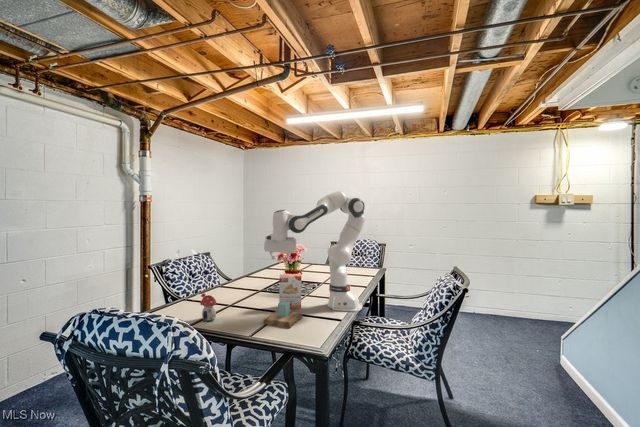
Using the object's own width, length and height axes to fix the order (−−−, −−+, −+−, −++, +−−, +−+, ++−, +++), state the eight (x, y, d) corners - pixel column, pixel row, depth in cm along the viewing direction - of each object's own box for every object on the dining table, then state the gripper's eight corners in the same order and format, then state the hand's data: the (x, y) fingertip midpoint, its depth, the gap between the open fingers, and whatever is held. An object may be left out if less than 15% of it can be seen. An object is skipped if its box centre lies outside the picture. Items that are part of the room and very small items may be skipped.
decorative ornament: (198, 320, 171) (198, 293, 170) (207, 316, 177) (207, 291, 176) (209, 323, 166) (209, 296, 166) (218, 319, 172) (218, 293, 172)
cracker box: (279, 309, 189) (279, 276, 188) (279, 305, 195) (279, 273, 194) (301, 308, 190) (301, 275, 189) (301, 305, 196) (301, 273, 195)
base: (302, 317, 175) (302, 312, 175) (290, 328, 160) (290, 322, 160) (277, 313, 181) (277, 308, 181) (263, 323, 166) (263, 318, 166)
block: (289, 314, 173) (289, 302, 172) (285, 317, 168) (285, 304, 168) (282, 312, 174) (282, 301, 174) (277, 316, 170) (277, 303, 169)
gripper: (298, 236, 180) (298, 259, 181) (267, 235, 187) (268, 257, 188) (293, 238, 174) (293, 261, 175) (262, 236, 181) (263, 259, 182)
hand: (280, 259), depth 181 cm, fingers open, 8 cm apart
